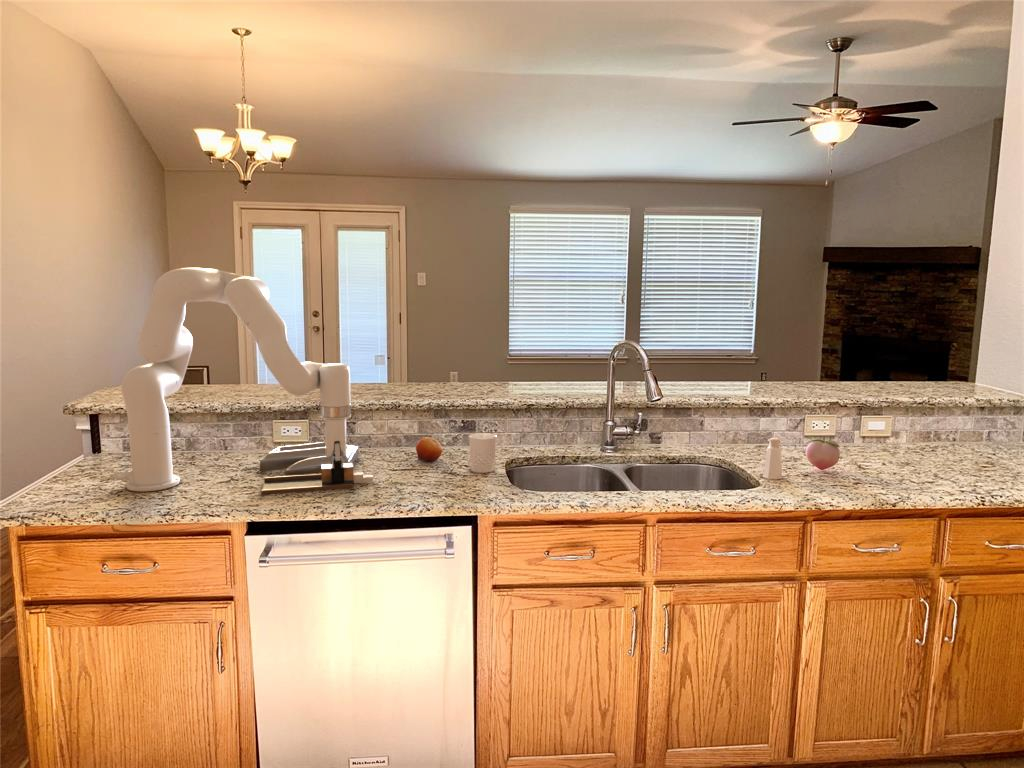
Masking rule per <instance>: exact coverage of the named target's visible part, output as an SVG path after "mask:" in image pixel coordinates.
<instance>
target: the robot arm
mask: <svg viewBox="0 0 1024 768" xmlns="http://www.w3.org/2000/svg"><path fill="white" fill-rule="evenodd" d="M270 293H271V292H270V290H269V287H268V285H267V284H266V283H265V282H264V281H263V280H261V279H260V278H257V277H254V276H248V275H243V274H239V273H235V272H229V271H225V270H220V269H216V268H206V267H205V268H204V267H181V268H175V269H171V270H168V271H167V272H165V273H163V274H162V275H160V276H159V278H157V280H156V282H155V283H154V286H153V290H152V293H151V297H150V301H149V305H148V308H147V312H146V314H145V317H144V322H143V325H142V328H141V332H140V335H139V339H138V342H137V351H138V353H139V355H140V356H141V358H142V359H144V360H145V361H147V362H149V363H146V364H141V365H138V366H135V367H133V368H131V369H130V370H128V371H127V372H126V373H125V374H124V376H123V378H122V381H121V393H122V397H123V401H124V404H125V409H126V416H127V426H128V427H127V428H128V441H129V455H130V466H131V468H130V469H127V470H124V471H122V470H119V471H117V470H116V471H114V472H113V480H116V481H125V480H126V481H127V482H125V489H127V490H129V491H132V492H154V491H155V492H156V491H162V490H166V489H170V488H172V487H175V486H177V485H178V484H180V482H181V478H180V476H179V475H176V474H174V470H173V468H174V467H173V453H172V439H171V438H172V437H171V436H172V435H171V425H170V424H171V422H170V415H169V410H168V409H169V408H168V407H167V404H166V401H165V398H166V397H169V396H171V395H173V394H175V393H176V392H177V391H179V389H180V388H181V386H182V384H183V383H184V382H183V381H184V379H185V375H186V373H187V369H188V365H189V362H190V359H191V355H192V351H193V347H194V346H193V345H194V343H193V342H194V341H193V336H192V334H191V332H190V330H189V329H188V328H187V327H186V326H184V325H183V324H184V321H185V318H186V311H187V310H186V309H187V307H186V305H187V303H200V302H201V303H203V302H214V303H219V304H225V305H228V307H229V308H230V309H231V311H232V312H233V313H234V315H235V316H236V317H237V318H238V319H239V321H240V322H241V324H243V326H244V328H245V329H246V330H247V331H248V333H249V334H250V335H251V336H252V338H253V339H254V341H255V343H256V345H257V348H258V351H259V353H260V355H261V357H262V359H263V362H264V364H265V366H266V367H267V369H268V370H269V372H270V374H272V376H273V377H274V378H275V380H276V381H277V382H278V383H279V385H280V386H281V387H282V388H283V389H284V390H285V391H286V392H287V393H289V394H291V395H293V396H297V397H300V396H305V395H307V394H309V393H310V392H313V391H316V390H319V395H320V397H319V398H320V418H321V419H322V420H324V442H325V448H326V457H327V458H329V456H331V460H332V463H331V464H332V468H331V482H332V484H335V483H344V467H343V457H344V456H345V453H346V445H347V419H350V418H351V417H352V410H351V409H352V406H351V405H352V403H351V370H350V367H349V366H348V365H347V364H345V363H338V362H337V363H334V362H333V363H321V362H313V361H304V362H301V360H299V357H297V356H296V354H295V353H294V352H293V350H292V348H291V346H290V344H289V341H288V337H287V325H286V322H285V320H284V319H283V318H282V317H281V315H280V314H279V313H278V312H277V310H276V309H275V308H274V306H273V305H272V303H271V302H270V296H271V295H270Z"/></svg>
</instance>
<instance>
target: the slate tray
mask: <svg viewBox="0 0 1024 768" xmlns="http://www.w3.org/2000/svg"><path fill="white" fill-rule="evenodd" d="M263 481H264V482H263V485H262V489H261V490H260V495H261V496H262V495H275V494H276V495H277V494H290V493H291V494H292V493H305V492H320V491H322V492H323V491H333V490H335V491H336V490H348V489H349V490H350V489H353V484H339V485H324V486H322V473H314V474H306V475H292V476H286V475H280V476H277V475H275V476H264V477H263Z"/></svg>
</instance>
